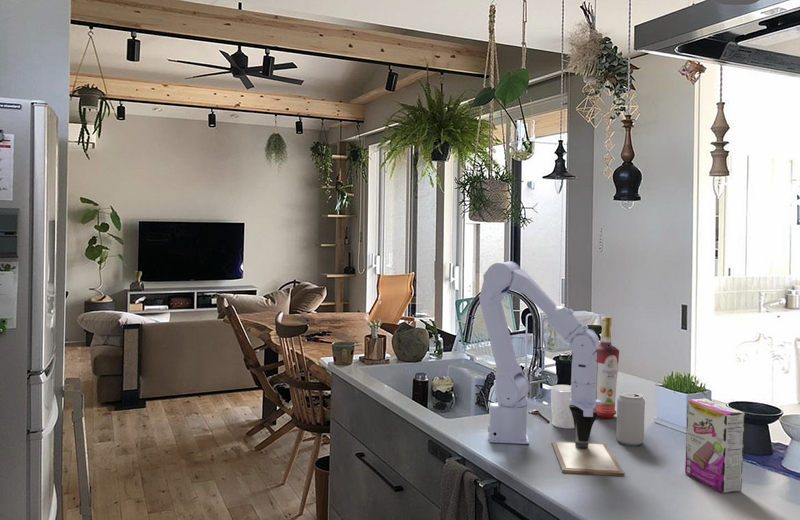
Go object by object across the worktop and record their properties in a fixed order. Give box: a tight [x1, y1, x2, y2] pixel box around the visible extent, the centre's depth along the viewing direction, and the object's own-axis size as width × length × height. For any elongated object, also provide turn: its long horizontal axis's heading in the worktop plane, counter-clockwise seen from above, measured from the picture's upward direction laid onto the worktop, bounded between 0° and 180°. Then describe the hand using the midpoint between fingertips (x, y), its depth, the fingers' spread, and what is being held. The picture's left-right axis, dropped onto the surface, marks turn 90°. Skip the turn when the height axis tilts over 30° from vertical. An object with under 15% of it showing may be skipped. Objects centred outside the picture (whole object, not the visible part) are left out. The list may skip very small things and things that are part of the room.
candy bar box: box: [684, 398, 746, 494], centre depth 135 cm, size 11×5×16 cm, turn 17°
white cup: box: [550, 384, 575, 430], centre depth 174 cm, size 8×8×10 cm
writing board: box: [550, 440, 626, 477], centre depth 149 cm, size 13×19×1 cm
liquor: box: [593, 316, 620, 420], centre depth 182 cm, size 7×7×28 cm
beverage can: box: [615, 391, 646, 447], centre depth 160 cm, size 6×6×12 cm
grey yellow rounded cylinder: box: [574, 426, 590, 449], centre depth 154 cm, size 3×3×7 cm
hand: (581, 438), depth 154 cm, fingers closed on grey yellow rounded cylinder, 3 cm apart
